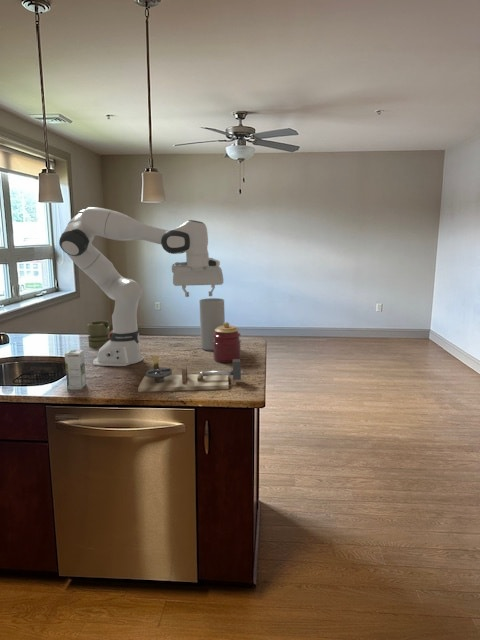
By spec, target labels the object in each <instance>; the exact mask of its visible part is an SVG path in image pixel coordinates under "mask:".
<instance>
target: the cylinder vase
mask: <svg viewBox="0 0 480 640" xmlns="http://www.w3.org/2000/svg"><path fill="white" fill-rule="evenodd" d="M225 315H226V314H225V299H224V298H214V297H213V298H212V297H211V298H201V299H199V324H200V328H199V330H200V346H201V347H200V348H201V349H202V350H204V351H210V352H211V351H213V352H214V346H213V341H214V337H213V334H214V333H215V331H214V330H215V329H216V328H217V327H219V326H224V323H225V320H226V319H225V318H226V316H225Z"/></svg>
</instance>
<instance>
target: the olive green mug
mask: <svg viewBox="0 0 480 640" xmlns="http://www.w3.org/2000/svg"><path fill="white" fill-rule="evenodd" d="M86 327H87V335H88V336H87V339H88V347H90V348H101V347H102V346H103V345H104V344H105V343H107V342H108V341H109V340H110V339H109V336H108V335H109V334H110V332H111V331H110V321H108V320H95V321H91V324H89V323H87V324H86Z"/></svg>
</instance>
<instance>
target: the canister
mask: <svg viewBox="0 0 480 640" xmlns="http://www.w3.org/2000/svg"><path fill="white" fill-rule="evenodd" d="M214 331H215V333H214V334H213V337H214V341H213V346H214V351H213V354H212V355H213V360H214V361H216V362H219V363H233V359H240V360H241V357H242V353H241V342H242V341H241V338H240V336H241V333H240V332H239V331H240V330H239V328H238V327H237V326H235V325H230V323H229V322H227V321H226V322H225V323H224V326H219V327H217V328H216V329H215V330H214Z"/></svg>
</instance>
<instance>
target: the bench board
mask: <svg viewBox="0 0 480 640" xmlns="http://www.w3.org/2000/svg"><path fill="white" fill-rule="evenodd" d="M199 374H200V373H198V374H195V373H192V374H187V376H188V377H187V382H186V384H182V374H171V375H169V376H167V377H162V378H150V377H147V376H146V375H144V377H143V378H142V380H141V382H140V384H139V385H138V388H137V390H138V391H137V392H139V393H141V392H169V391H170V392H171V391H175V392H176V391H201V390H202V391H203V390H229V375H221V376H200V375H199Z"/></svg>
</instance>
